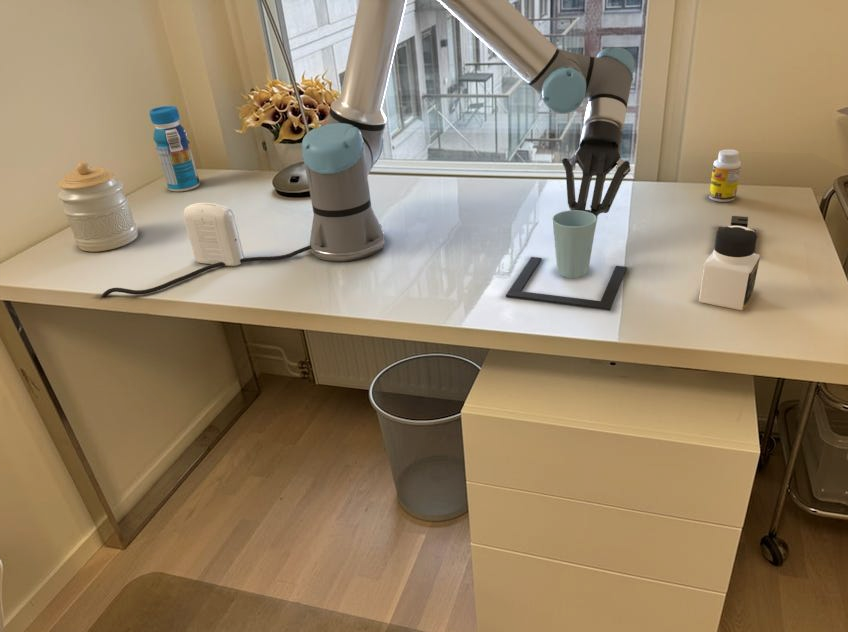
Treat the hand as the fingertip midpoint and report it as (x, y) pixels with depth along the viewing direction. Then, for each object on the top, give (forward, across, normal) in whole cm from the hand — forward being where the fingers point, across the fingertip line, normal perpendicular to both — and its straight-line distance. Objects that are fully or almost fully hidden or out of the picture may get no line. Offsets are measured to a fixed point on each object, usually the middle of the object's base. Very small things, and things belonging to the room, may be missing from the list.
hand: (581, 245), depth 129 cm
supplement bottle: (-24, -23, -30) cm, 45 cm away
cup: (+6, 0, 0) cm, 6 cm away
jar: (+12, +103, +7) cm, 104 cm away
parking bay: (+8, 0, +3) cm, 9 cm away
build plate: (-8, -27, -14) cm, 31 cm away
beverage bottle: (-13, +110, -17) cm, 112 cm away
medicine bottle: (+8, -26, +3) cm, 28 cm away
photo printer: (+14, +70, +10) cm, 72 cm away
